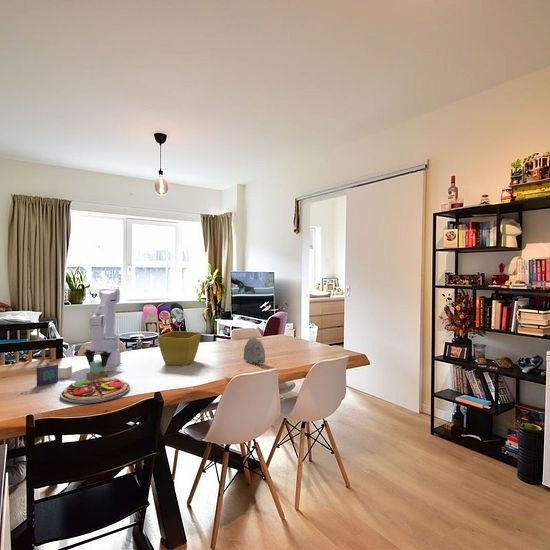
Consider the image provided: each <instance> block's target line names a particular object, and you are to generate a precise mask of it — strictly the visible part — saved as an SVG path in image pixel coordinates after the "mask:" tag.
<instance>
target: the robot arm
mask: <svg viewBox="0 0 550 550" xmlns="http://www.w3.org/2000/svg"><path fill="white" fill-rule="evenodd" d="M120 296H121V292H120V288H119V287H100V289H99V290H98V297H99V300H100V303H99V304H98V305H97V306H96V307H95V310H94V312H93V315H92V316H90V318H89V326H90V331H91V333H90V334H91V336H90V337H91V343H90V345H89V346H87V345H86V346H84V348H83V349H84V350H83V351H84V352H83V355H84V356H85V358H86V359H87V362H88V365H89V367H90V362H93V361H95V354H96V353H97V352H98V353H99V356H100V358H101V360H100V361H102V367H104V368H113V367H116V366H119V365H121V364H123V362H122V361H121V360H122V359H121V356H122V355H121V354H122V353H121V351H120V350H121V349H119V348H120V346H121V340H120V338H121V337H120V335H119V334H118V333H117V332H115V330H116V329H115V327H116V326H115V325H116V307H117V304H118V303H120V299H121V297H120Z"/></svg>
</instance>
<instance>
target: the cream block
mask: <svg viewBox="0 0 550 550" xmlns="http://www.w3.org/2000/svg"><path fill="white" fill-rule="evenodd" d="M72 373H73V365H61V366H58V378H68V377H70V376H72Z"/></svg>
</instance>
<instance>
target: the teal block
mask: <svg viewBox="0 0 550 550" xmlns="http://www.w3.org/2000/svg"><path fill="white" fill-rule="evenodd" d="M89 368H90V372H92V373H99V372H102V371H104V370H105V367H102V360H100V359H99V360H97V359H96V360H94V361H93V362H90V366H89Z"/></svg>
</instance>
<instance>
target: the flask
mask: <svg viewBox="0 0 550 550" xmlns="http://www.w3.org/2000/svg"><path fill="white" fill-rule="evenodd" d="M58 368H59V364H58V363H51V362H50V361H46V364H43V365H40V366H37V367H36V386H37V387H42V386H48V385H51V384H56V383H58V382H59V379H58Z"/></svg>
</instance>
